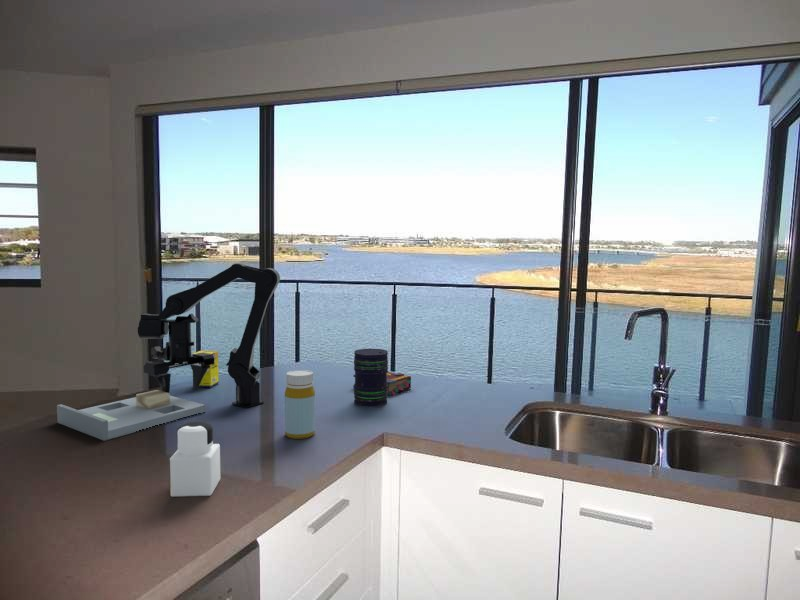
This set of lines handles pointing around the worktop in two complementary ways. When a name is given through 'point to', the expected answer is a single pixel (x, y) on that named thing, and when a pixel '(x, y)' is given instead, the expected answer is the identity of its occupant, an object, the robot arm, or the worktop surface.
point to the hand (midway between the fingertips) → (181, 393)
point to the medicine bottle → (195, 461)
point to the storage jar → (370, 377)
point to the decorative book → (397, 382)
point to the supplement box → (210, 372)
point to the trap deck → (124, 416)
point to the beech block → (153, 399)
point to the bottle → (299, 404)
